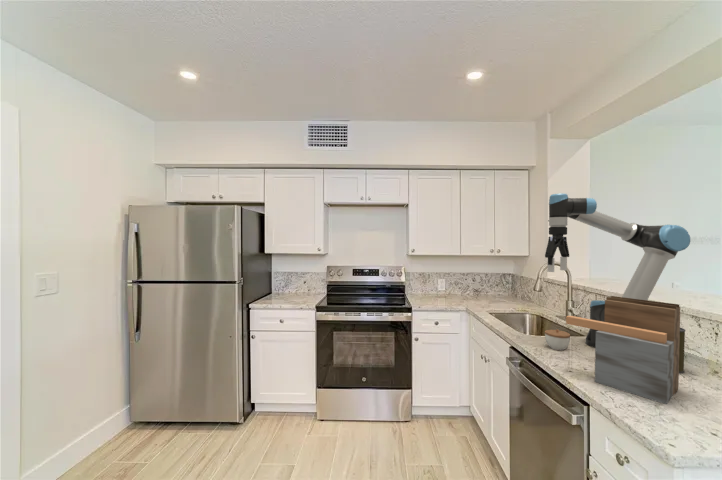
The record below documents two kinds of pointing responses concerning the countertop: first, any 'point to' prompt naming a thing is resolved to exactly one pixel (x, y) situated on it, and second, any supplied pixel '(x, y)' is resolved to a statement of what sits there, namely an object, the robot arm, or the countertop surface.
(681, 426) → the countertop surface
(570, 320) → the terracotta bar
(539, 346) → the countertop surface
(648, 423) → the countertop surface
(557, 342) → the lidded jar
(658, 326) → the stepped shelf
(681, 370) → the canister
